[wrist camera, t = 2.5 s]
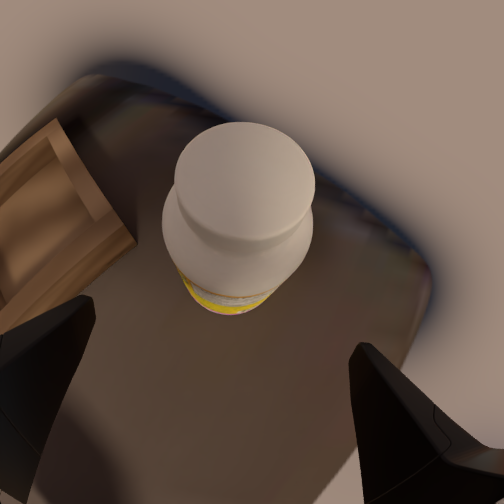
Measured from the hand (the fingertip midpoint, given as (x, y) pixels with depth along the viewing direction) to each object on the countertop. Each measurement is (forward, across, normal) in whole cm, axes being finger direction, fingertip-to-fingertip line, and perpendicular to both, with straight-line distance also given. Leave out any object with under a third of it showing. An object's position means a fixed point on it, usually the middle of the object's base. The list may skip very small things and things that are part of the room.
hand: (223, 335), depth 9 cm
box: (+12, +17, +5) cm, 21 cm away
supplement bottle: (+12, 0, +5) cm, 13 cm away
